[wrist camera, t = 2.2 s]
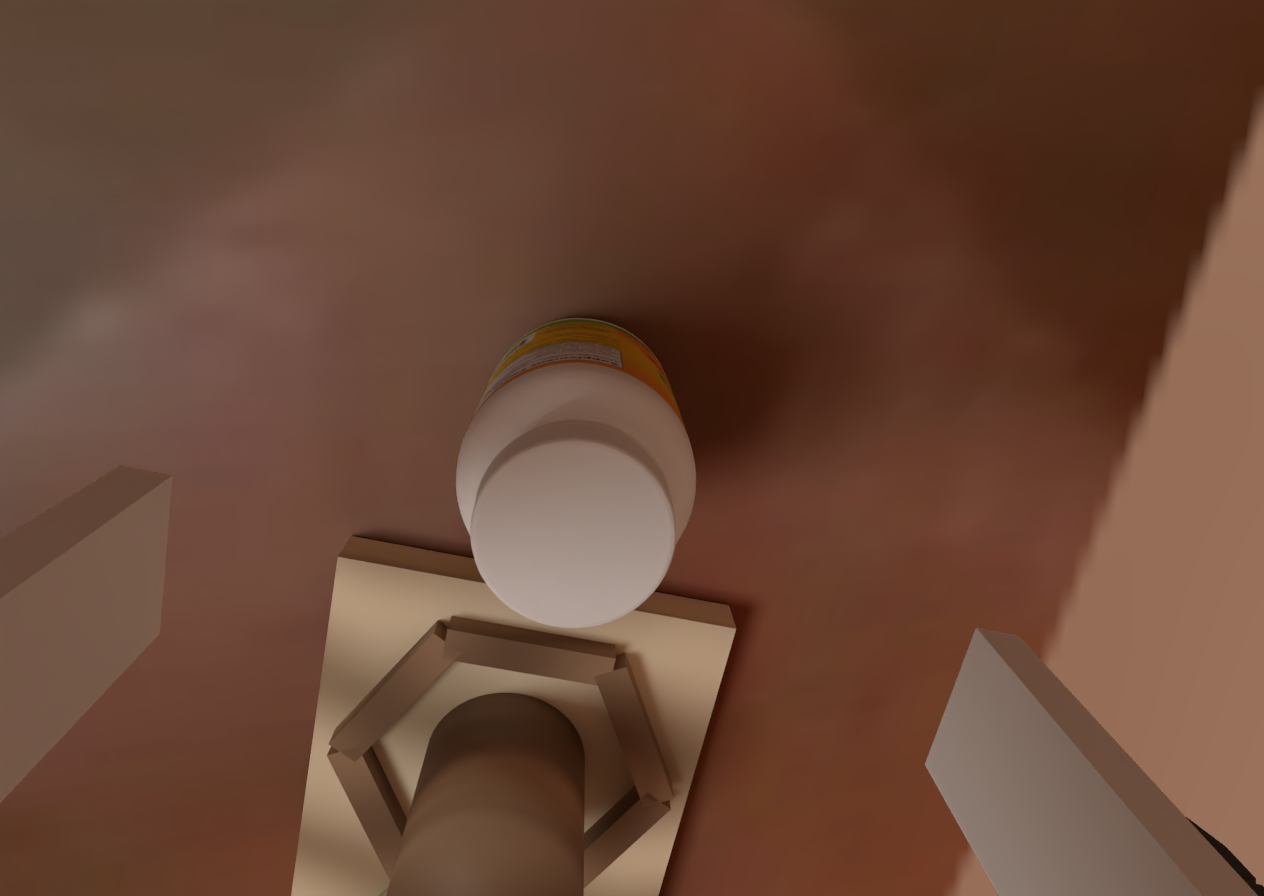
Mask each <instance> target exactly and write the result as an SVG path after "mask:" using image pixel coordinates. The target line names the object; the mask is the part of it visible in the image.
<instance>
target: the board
mask: <svg viewBox="0 0 1264 896" xmlns="http://www.w3.org/2000/svg"><path fill="white" fill-rule="evenodd" d="M735 632H736V626H735V623H734V620H733V617H732V613H731V610H730V607H729V605H724V604H719V603H713V602H708V601H703V600H697V599H692V598H686V597H681V596H675V595H670V594H665V593H659V592H653V593H652V594H651V595H650V596H649V597H648V598H647V599H646V600H645V601H644V602H643V603H642V604H641V605H640V606H638V607H637V608H636V609H634V610H633V611H631V612H629V613H628V614H626V615H624V616H622V617H620V618H618V619H616V620H613V621H611V622H608V623H605V624H601V625H597V626H592V627H584V628H562V627H554V626H550V625H545V624H542V623H539V622H536V621H533V620H531V619H528V618H526V617H524V616H522V615H520V614H519V613H517V612H515V611H513V610H512V609H510V608H509V607H508V606H506V605H505V604H504V603H503V602H502V601H501V600H500V599H499V598H498V597H497V596H496V595H495V594H494V593H493V592H492V591H491V589H490V588H489V587H488V585H487V584H486V582H485V581H484V580H483V578H482V576H481V574H480V572H479V570H478V568H477V565H476V563H475V559H474V558H469V557H463V556H458V555H452V554H447V553H441V552H436V551H431V550H425V549H420V548H414V547H409V546H403V545H398V544H392V543H387V542H382V541H376V540H371V539H365V538H360V537H354V536H351V537H350V539H349V540H348V542H347V543H346V545H345V547H344V548H343V550H342V551H341V553H340V554H339V556H338V560H337V567H336V575H335V582H334V589H333V596H332V604H331V611H330V618H329V625H328V633H327V640H326V647H325V654H324V662H323V669H322V676H321V683H320V691H319V698H318V705H317V712H316V720H315V727H314V734H313V741H312V749H311V756H310V763H309V770H308V778H307V785H306V792H305V799H304V807H303V814H302V821H301V828H300V836H299V843H298V850H297V857H296V865H295V872H294V879H293V886H292V894H291V896H386V894H387V890H388V887H389V883H390V879H391V876H392V872H393V869H394V865H395V862H396V858H397V854H398V851H399V847H400V844H401V840H402V836H403V833H404V829H405V826H406V822H407V818H408V815H409V811H410V808H411V804H412V800H413V797H414V793H415V790H416V786H417V782H418V779H419V775H420V772H421V768H422V765H423V761H424V757H425V754H426V750H427V747H428V743H429V740H430V737H431V735H432V733H433V731H434V729H435V728H436V726H437V724H438V723H439V722H440V721H441V720H442V718H443V717H444V716H445V715H446V714H447V713H449V712H450V711H451V710H452V709H454V708H455V707H457V706H458V705H460V704H462V703H463V702H465V701H467V700H470V699H472V698H475V697H478V696H482V695H486V694H492V693H517V694H523V695H528V696H532V697H535V698H537V699H540V700H542V701H544V702H546V703H548V704H550V705H552V706H553V707H555V708H556V709H558V710H559V711H560V712H562V713H563V714H564V715H565V716H566V717H567V718H568V719H569V720H570V721H571V723H572V724H573V725H574V727H575V728H576V730H577V732H578V734H579V736H580V738H581V740H582V744H583V747H584V753H585V798H584V896H658V895H659V892H660V888H661V885H662V881H663V878H664V875H665V871H666V868H667V864H668V861H669V857H670V854H671V851H672V847H673V844H674V840H675V837H676V834H677V830H678V827H679V823H680V820H681V816H682V813H683V810H684V806H685V803H686V799H687V796H688V792H689V789H690V786H691V782H692V779H693V775H694V772H695V769H696V765H697V762H698V758H699V755H700V751H701V748H702V745H703V741H704V738H705V734H706V731H707V727H708V724H709V721H710V717H711V714H712V710H713V707H714V703H715V700H716V697H717V693H718V690H719V686H720V683H721V680H722V676H723V673H724V669H725V666H726V662H727V659H728V656H729V652H730V649H731V645H732V642H733V638H734V635H735Z"/></svg>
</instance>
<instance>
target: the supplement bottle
mask: <svg viewBox="0 0 1264 896" xmlns="http://www.w3.org/2000/svg"><path fill="white" fill-rule="evenodd" d="M695 490H696V469H695V462H694V457H693V451H692V448H691V444H690V441H689V438H688V435H687V432H686V429H685V426H684V423H683V420H682V418H681V415H680V412H679V408H678V405H677V403H676V400H675V397H674V395H673V392H672V389H671V386H670V384H669V381H668V378H667V376H666V374H665V372H664V370H663V368H662V366H661V364H660V362H659V361H658V360H657V358H656V357H655V355H654V354H653V352H652V351H651V350H650V349H649V348H648V347H647V346H646V345H645V344H644V343H643V342H642V341H641V340H640V339H639V338H637V337H636V336H635V335H633V334H632V333H630V332H628V331H627V330H625V329H623V328H621V327H619V326H617V325H614V324H611V323H609V322H605V321H601V320H596V319H588V318H568V319H561V320H556V321H553V322H549V323H547V324H544V325H542V326H540V327H538V328H536V329H534V330H532V331H530V332H529V333H527V334H526V335H524V336H523V337H522V338H520V339H519V340H518V341H517V342H516V343H514V344H513V345H512V346H511V347H510V348H509V350H508V351H507V352H506V353H505V355H504V356H503V357H502V359H501V360H500V362H499V363H498V365H497V367H496V368H495V370H494V372H493V374H492V376H491V378H490V380H489V383H488V385H487V387H486V389H485V391H484V394H483V396H482V398H481V400H480V403H479V405H478V407H477V410H476V412H475V414H474V416H473V418H472V420H471V422H470V424H469V426H468V428H467V431H466V433H465V436H464V439H463V442H462V445H461V448H460V453H459V457H458V462H457V472H456V493H457V499H458V505H459V508H460V512H461V516H462V518H463V521H464V524H465V526H466V528H467V530H468V533H469V534H470V537H471V547H472V552H473V556H474V559H475V563H476V565H477V568H478V570H479V572H480V574H481V576H482V578H483V580H484V581H485V582H486V584H487V585H488V587H489V588H490V589H491V591H492V592H493V593H494V594H495V595H496V596H497V597H498V598H499V599H500V600H501V601H502V602H503V603H504V604H505V605H506V606H508V607H509V608H510V609H512V610H513V611H515V612H517V613H519V614H520V615H522V616H524V617H526V618H528V619H531V620H533V621H536V622H539V623H542V624H545V625H550V626H554V627H562V628H584V627H592V626H597V625H601V624H605V623H608V622H611V621H613V620H616V619H618V618H620V617H622V616H624V615H626V614H628V613H629V612H631V611H633V610H634V609H636V608H637V607H638V606H640V605H641V604H642V603H643V602H644V601H645V600H646V599H647V598H648V597H649V596H650V595H651V594H652V593H653V592H654V591H655V590H656V588H657V587H658V586H659V584H660V583H661V581H662V580H663V578H664V576H665V574H666V573H667V570H668V568H669V566H670V563H671V561H672V558H673V554H674V549H675V545H676V543H677V542H678V540H679V539H680V537H681V535H682V533H683V531H684V529H685V527H686V525H687V523H688V520H689V518H690V515H691V512H692V508H693V503H694V498H695Z"/></svg>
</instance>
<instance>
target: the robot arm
mask: <svg viewBox="0 0 1264 896" xmlns="http://www.w3.org/2000/svg"><path fill="white" fill-rule="evenodd" d="M171 487H172V475H168V474H162V473H157V472H152V471H147V470H141V469H136V468H131V467H126V466H119V467H117V468H116V469H114V470H113V471H111V472H109V473H108V474H106V475H104V476H103V477H101V478H100V479H98V480H96V481H95V482H93V483H91V484H90V485H88V486H87V487H85V488H83V489H82V490H80V491H78V492H77V493H75V494H74V495H72V496H70V497H69V498H67V499H65V500H64V501H62V502H61V503H59V504H57V505H56V506H54V507H53V508H51V509H49V510H48V511H46V512H44V513H43V514H41V515H40V516H38V517H36V518H35V519H33V520H31V521H30V522H28V523H27V524H25V525H23V526H22V527H20V528H18V529H17V530H15V531H14V532H12V533H10V534H9V535H7V536H5V537H4V538H2V539H1V540H0V802H1V801H2V800H3V799H4V798H5V797H6V796H7V795H8V794H9V793H10V792H11V791H12V790H13V789H14V788H15V787H16V785H17V784H18V783H19V782H20V781H21V780H22V779H23V778H24V777H25V776H26V775H27V774H28V773H29V772H30V771H31V770H32V769H33V767H34V766H35V765H36V764H37V763H38V762H39V761H40V760H41V759H42V758H43V757H44V756H45V755H46V754H47V753H48V752H49V751H50V749H51V748H52V747H53V746H54V745H55V744H56V743H57V742H58V741H59V740H60V739H61V738H62V737H63V736H64V735H65V734H66V732H67V731H68V730H69V729H70V728H71V727H72V726H73V725H74V724H75V723H76V722H77V721H78V720H79V719H80V718H81V717H82V716H83V714H84V713H85V712H86V711H87V710H88V709H89V708H90V707H91V706H92V705H93V704H94V703H95V702H96V701H97V700H98V699H99V697H100V696H101V695H102V694H103V693H104V692H105V691H106V690H107V689H108V688H109V687H110V686H111V685H112V684H113V683H114V682H115V681H116V679H117V678H118V677H119V676H120V675H121V674H122V673H123V672H124V671H125V670H126V669H127V668H128V667H129V666H130V665H131V664H132V663H133V661H134V660H135V659H136V658H137V657H138V656H139V655H140V654H141V653H142V652H143V651H144V650H145V649H146V648H147V647H148V646H149V644H150V643H151V642H152V641H153V640H154V639H155V638H156V637H157V636H158V635H159V634H160V624H161V611H162V599H163V587H164V574H165V562H166V549H167V537H168V525H169V512H170V500H171ZM925 766H926V768H927V769H928V771H929V773H930V775H931V776H932V778H933V780H934V782H935V784H936V785H937V787H938V789H939V791H940V792H941V794H942V796H943V798H944V800H945V801H946V803H947V805H948V807H949V808H950V810H951V812H952V814H953V816H954V817H955V819H956V821H957V823H958V825H959V826H960V828H961V830H962V832H963V833H964V835H965V837H966V839H967V841H968V842H969V844H970V846H971V848H972V849H973V851H974V853H975V855H976V857H977V858H978V860H979V862H980V864H981V865H982V867H983V869H984V871H985V873H986V874H987V876H988V878H989V880H990V881H991V883H992V885H993V887H994V889H995V890H996V892H997V894H998V896H1264V887H1263V886H1262V885H1258V884H1256V878H1255V877H1254V876H1253V875H1252V874H1251V873H1250V872H1249V871H1248V870H1247V869H1246V868H1245V867H1244V866H1243V864H1242V863H1241V862H1240V861H1239V860H1238V859H1237V858H1236V857H1235V856H1234V855H1233V854H1232V853H1231V852H1230V851H1229V850H1228V848H1226V847H1225V846H1224V845H1223V844H1221V843H1220V842H1219V841H1217V840H1216V839H1215V838H1214V837H1212V836H1211V835H1209V834H1208V833H1207V832H1205V831H1204V830H1203V829H1201V828H1200V827H1199V826H1198V825H1196V824H1195V823H1194V822H1192V821H1191V820H1190V819H1188V818H1187V817H1185V816H1184V815H1183V814H1182V813H1181V812H1180V811H1179V809H1178V808H1177V807H1176V806H1175V805H1174V804H1173V803H1172V802H1171V801H1170V800H1169V799H1168V797H1167V796H1166V795H1165V794H1164V793H1163V792H1162V791H1161V790H1160V789H1159V788H1158V787H1157V786H1156V784H1155V783H1154V782H1153V781H1152V780H1151V779H1150V778H1149V777H1148V776H1147V775H1146V774H1145V772H1143V770H1142V769H1141V768H1140V767H1139V766H1138V765H1137V764H1136V763H1135V762H1134V761H1133V759H1132V758H1131V757H1130V756H1129V755H1128V754H1127V753H1126V752H1125V751H1124V750H1123V749H1122V748H1121V746H1120V745H1119V744H1118V743H1117V742H1116V741H1115V740H1114V739H1113V738H1112V737H1111V736H1110V734H1109V733H1108V732H1107V731H1106V730H1105V729H1104V728H1103V727H1102V726H1101V725H1100V724H1099V723H1098V721H1097V720H1096V719H1095V718H1094V717H1093V716H1092V715H1091V714H1090V713H1089V712H1088V711H1087V709H1086V708H1085V707H1084V706H1083V705H1082V704H1081V703H1080V702H1079V701H1078V700H1077V699H1076V698H1075V697H1074V695H1072V693H1071V692H1070V691H1069V690H1068V689H1067V688H1066V687H1065V686H1064V685H1063V684H1062V682H1061V681H1060V680H1059V679H1058V678H1057V677H1056V676H1055V675H1054V674H1053V673H1052V672H1051V671H1050V669H1049V668H1048V667H1047V666H1046V665H1045V664H1044V663H1043V662H1042V661H1041V660H1040V658H1039V657H1038V656H1037V655H1036V654H1035V653H1034V652H1033V651H1032V650H1031V649H1030V648H1029V647H1028V645H1027V644H1026V643H1025V642H1024V641H1023V640H1022V639H1021V638H1020V637H1019V636H1018V635H1012V634H1007V633H1002V632H997V631H991V630H986V629H981V628H976V629H975V632H974V635H973V637H972V640H971V643H970V645H969V648H968V651H967V653H966V656H965V659H964V661H963V664H962V667H961V669H960V672H959V675H958V677H957V680H956V683H955V685H954V688H953V691H952V693H951V696H950V699H949V701H948V704H947V707H946V710H945V712H944V715H943V718H942V720H941V723H940V726H939V728H938V731H937V734H936V736H935V739H934V742H933V744H932V747H931V750H930V752H929V755H928V758H927V760H926V763H925Z"/></svg>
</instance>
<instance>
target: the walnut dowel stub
mask: <svg viewBox="0 0 1264 896" xmlns="http://www.w3.org/2000/svg"><path fill="white" fill-rule="evenodd" d="M584 798H585V753H584V747H583V744H582V740H581V738H580V736H579V734H578V732H577V730H576V728H575V727H574V725H573V724H572V723H571V721H570V720H569V719H568V718H567V717H566V716H565V715H564V714H563V713H562V712H560V711H559V710H558V709H556V708H555V707H553V706H552V705H550V704H548V703H546V702H544V701H542V700H540V699H537V698H535V697H532V696H528V695H523V694H517V693H492V694H486V695H482V696H478V697H475V698H472V699H470V700H467V701H465V702H463V703H462V704H460V705H458V706H457V707H455V708H454V709H452V710H451V711H450V712H449V713H447V714H446V715H445V716H444V717H443V718H442V720H441V721H440V722H439V723H438V724H437V726H436V728H435V729H434V731H433V733H432V735H431V737H430V740H429V743H428V747H427V750H426V754H425V757H424V761H423V765H422V768H421V772H420V775H419V779H418V782H417V786H416V790H415V793H414V797H413V800H412V804H411V808H410V811H409V815H408V818H407V822H406V826H405V829H404V833H403V836H402V840H401V844H400V847H399V851H398V854H397V858H396V862H395V865H394V869H393V872H392V876H391V879H390V883H389V887H388V890H387V894H386V896H584Z"/></svg>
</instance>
